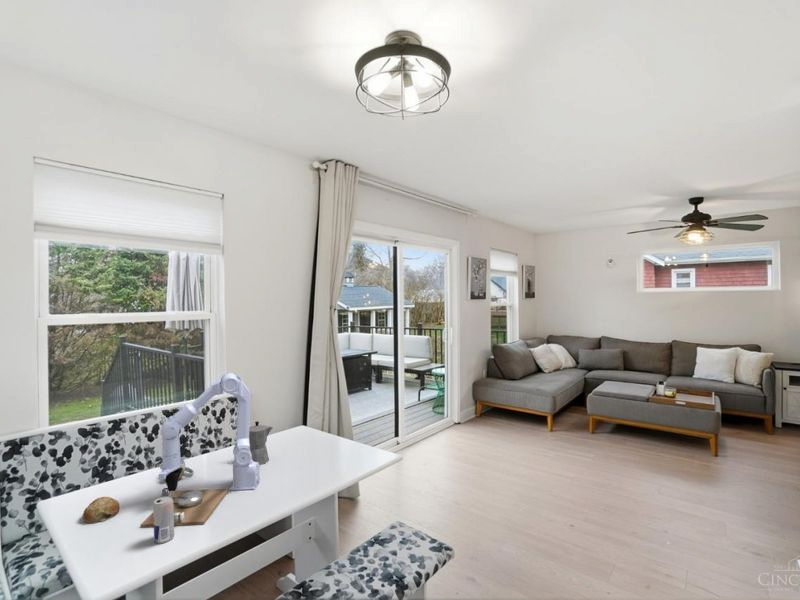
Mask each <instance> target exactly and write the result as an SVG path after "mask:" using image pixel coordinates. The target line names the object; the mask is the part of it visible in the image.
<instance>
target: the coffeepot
mask: <svg viewBox="0 0 800 600" xmlns="http://www.w3.org/2000/svg"><path fill="white" fill-rule="evenodd" d="M254 423H255V425H252V426H249V444H250V451H251V454H252V461H254V462H258V463H259V466H261V465H265V464H266V463H268V462H269V461H270V459H269V453H268V449H267V446H266V445H267V444H266V443H267V441H268V436H269V433H270V432H271V431H272V430H273V427H272V426H267V425H266V424H259V423H260V421H257V420H256V421H255V422H254ZM235 434H236V436H237V431H236V433H235Z"/></svg>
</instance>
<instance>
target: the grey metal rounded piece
mask: <svg viewBox="0 0 800 600" xmlns="http://www.w3.org/2000/svg"><path fill="white" fill-rule="evenodd" d="M169 492H170V491H169V489H168V487H164V488H162V489H161V497H164V496H170V495H169ZM172 499H173V503H176V502H177V503H178V507H181V508H188V507H193V506H195V505H198V504H199V503H201V502H202V500H203V493H202V492H200V491H191V492H187V493H184V494H182V495H180V496H179V497H172Z"/></svg>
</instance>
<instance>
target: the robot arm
mask: <svg viewBox="0 0 800 600" xmlns="http://www.w3.org/2000/svg"><path fill="white" fill-rule="evenodd" d="M224 392H225V393H226V394H229V395H232V396H234V397H235V398H236V399H237V407H236V408H237V409H236V410H237V414H236V432H237V435H236V439H235V444H234V445H235V446H234V447H233V450H232V453H233V456H234V458H233V460H234V461H233V462H232V478H233V479H232V482H233V483H232V485H231V486H230V488H229V491H242V490H244V491H245V490H246V491H247V490H255V489H256V488H257V486H258V484H259V483H260V481H261V478H260V475H261V474H260V471H261V470H260V465H259V463H258V462H254V461H252V454H251V451H250V444H249V427H250V424H251V423H250V421H251V420H250V418H251V417H250V416H251V391H250V390H249V388H248V387H247V385H245V383H244V381H243V380H242V378H241V377H240V376H239V375H237V374H235V373H234V372H226V373H224V374H223V375H221V377H219V378H217V379H216V380H215V381H214V382H213V383H212V384H211V385H209V386H208V387H207V388H206V389H205V390H204V391H203V392H202V393H201V394H200V395H199V396H198V397H197V398H196V399H195V400H194V401H193V402H192V403H187V404H184V405H181V406H179V410H178V411H177V412H175V414H173V415H170V417H168V419H167V420H165V422H163V424H162V426H161V430H160V434H161V440H162V442H161V451H162V452H161V454H162V455H161V456H162V465H160V466H159V470H160V472H159V473H158V480H164V482H165V484H166V488H168V489H169V492H174V491H177V488H178V484H179V481H180V479H179V476H180V474H181V472H182V468H180V467H181V465H182V464H183V463H184V461H185V458H184V457H181V440H180V430H181V429H184V427H186V426H187V425H188V424H189V423H190V422H191V421H193V419H195V418H196V417H197V416H198V415H199V414H198V411H199V409H201V408H202V407H203V406H204V405H205V404H206V403H207V402H209V401H210V400H212V398H214V397H215V396H216V395H217V396H220V395H223V394H224Z"/></svg>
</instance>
